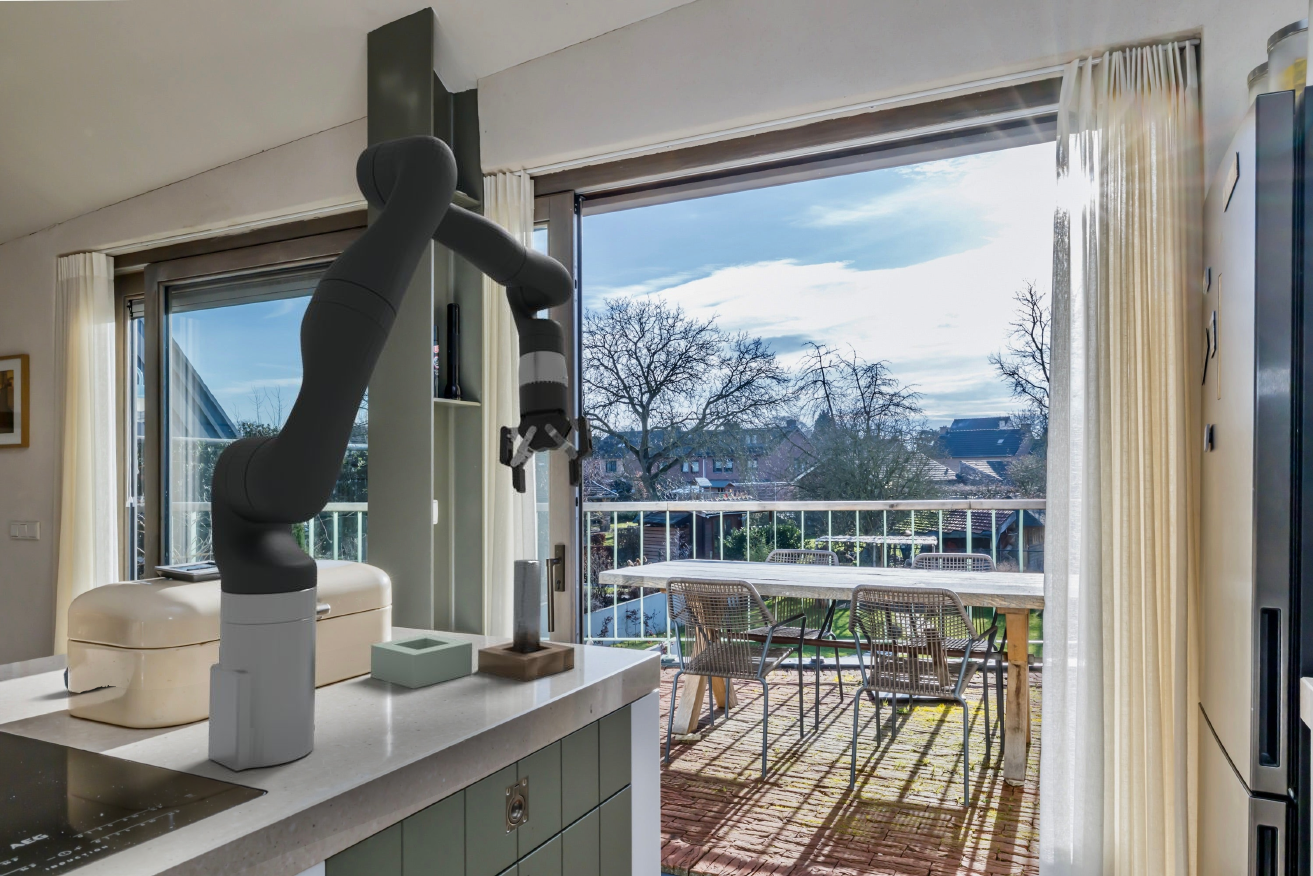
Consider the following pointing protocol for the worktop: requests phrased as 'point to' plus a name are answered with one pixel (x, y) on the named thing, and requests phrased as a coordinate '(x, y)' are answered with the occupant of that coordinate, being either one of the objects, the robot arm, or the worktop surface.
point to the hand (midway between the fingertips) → (547, 489)
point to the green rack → (421, 660)
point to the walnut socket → (525, 661)
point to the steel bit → (527, 606)
